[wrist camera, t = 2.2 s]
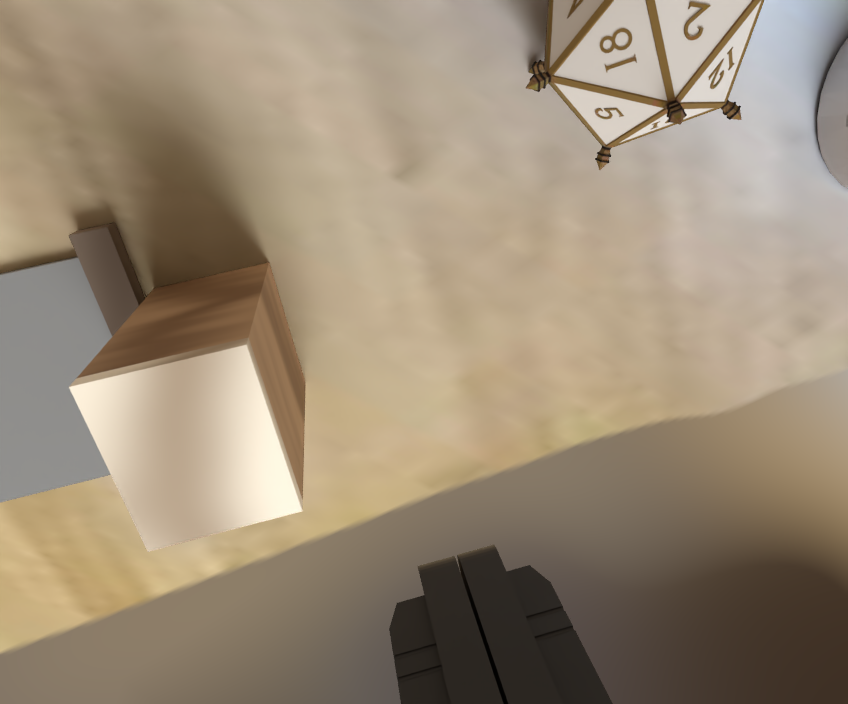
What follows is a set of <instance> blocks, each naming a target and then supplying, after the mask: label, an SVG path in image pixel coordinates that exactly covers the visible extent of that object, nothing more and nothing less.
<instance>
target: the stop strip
mask: <svg viewBox="0 0 848 704" xmlns="http://www.w3.org/2000/svg"><path fill="white" fill-rule="evenodd" d="M69 238H70V240H71V242H72V245H73V247H74V249H75V252H76V254H77V256H78V259H79V261H80V263H81V266H82V268H83V270H84V273H85V275H86V277H87V280H88V282H89V284H90V286H91V289H92V291H93V293H94V296H95V298H96V300H97V303H98V305H99V307H100V310H101V312H102V314H103V317H104V319H105V321H106V324H107V326H108V328H109V331H110V333H111V335H112V337H113V335H114V334H115V333H116V332H117V331H118V330H119V328H120V327H121V326H122V325H123V324H124V323H125V321H126V320H127V319H128V318H129V317H130V316H131V315H132V313H133V312H134V311H135V310H136V309H137V308H138V306H139V305H140V304H141V303H142V302H143V301H144V300H145V297H144V295H143V292H142V290H141V287H140V285H139V282H138V280H137V277H136V275H135V272H134V270H133V267H132V265H131V262H130V260H129V257H128V255H127V252H126V250H125V247H124V245H123V242H122V239H121V237H120V234H119V232H118V229H117V227H116V224H115V223H110V224H106V225H101V226H97V227H92V228H87V229H83V230H78V231H76V232H74V233H72V234H70V235H69Z"/></svg>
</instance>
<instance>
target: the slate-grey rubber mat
mask: <svg viewBox="0 0 848 704" xmlns="http://www.w3.org/2000/svg"><path fill="white" fill-rule="evenodd" d="M111 338H112V335H111V333H110V331H109V328H108V326H107V324H106V321H105V319H104V317H103V314H102V312H101V310H100V307H99V305H98V303H97V300H96V298H95V296H94V293H93V291H92V289H91V286H90V284H89V282H88V280H87V277H86V275H85V273H84V270H83V268H82V266H81V263H80V261H79V259H78V257H73V258H69V259H64V260H60V261H55V262H51V263H46V264H41V265H37V266H32V267H28V268H23V269H19V270H14V271H10V272H5V273H1V274H0V502H4V501H8V500H12V499H16V498H20V497H24V496H28V495H32V494H36V493H40V492H44V491H48V490H52V489H56V488H60V487H64V486H68V485H72V484H76V483H80V482H84V481H88V480H92V479H96V478H100V477H104V476H108V475H111V474H110V472H109V470H108V468H107V466H106V464H105V461H104V459H103V457H102V455H101V453H100V451H99V449H98V447H97V445H96V443H95V441H94V439H93V436H92V434H91V432H90V430H89V428H88V426H87V424H86V422H85V420H84V418H83V416H82V414H81V411H80V409H79V407H78V405H77V403H76V401H75V399H74V397H73V395H72V393H71V391H70V389H69V386H70V385H71V384H72V383H73V382H74V380H75V379H76V378H77V377H78V376H79V375H80V374H81V372H82V371H83V370H84V369H85V368H86V367H87V365H88V364H89V363H90V362H91V361H92V360H93V358H94V357H95V356H96V355H97V354H98V353H99V352H100V350H101V349H102V348H103V347H104V346H105V345H106V343H107V342H108V341H109V340H110V339H111Z"/></svg>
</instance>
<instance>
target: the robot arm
mask: <svg viewBox="0 0 848 704" xmlns="http://www.w3.org/2000/svg"><path fill="white" fill-rule="evenodd" d="M817 124H818V141H819V145H820V150H821V154H822V157H823V159H824V161H825V163H826V165H827V167H828V169H829V171H830V173H831V174H832V175H833V176H834V177H835V178H836V180H837V181H838V182H839V183H840V184H841V185H843V186H844V187H846V188H848V38H847V39H846V41H845V42H844V44H843V45H842V46H841V48H840V50H839V51H838V53H837V55H836V57H835V59H834V61H833V63H832V65H831V67H830V69H829V71H828V74H827V77H826V80H825V83H824V86H823V89H822V92H821V97H820V103H819V109H818V116H817ZM457 557H458V563H459V567H458V564H457V562H456V559H455V557H454V556H452V557H449V558H446V559H442V560H438V561H435V562H431V563H427V564H424V565H420V566H418V570H419V574H420V578H421V582H422V586H423V590H424V594H425V595H424V596H420V597H417V598H413V599H410V600H406V601H403V602H399V603H397V605H396V608H395V612H394V615H393V619H392V622H391V625H390V629H389V630H390V636H391V642H392V649H393V655H394V659H395V667H396V673H397V679H398V686H399V693H400V699H401V704H612V702H611V700H610V698H609V696H608V694H607V692H606V690H605V688H604V686H603V684H602V682H601V680H600V678H599V676H598V674H597V672H596V670H595V668H594V667H593V665H592V663H591V661H590V659H589V657H588V655H587V653H586V651H585V649H584V647H583V645H582V643H581V641H580V639H579V637H578V635H577V633H576V631H574V629H573V626H572V623H571V622H570V620H569V618H568V616H567V614H566V612H565V611H564V610H563V606H562V604H561V602H560V600H559V599H558V596H557V594H556V592H555V590H554V588H553V586H552V585H551V582H549V581H548V580H547V579H545V578H544V577H543V576H542V575H541V574H540V573H538V572H537V571H536V570H535V569H533V568H532V567H531V566H530V565H529V566H525V567H522V568H518V569H514V570H511V571H507V572H506V570H505V567H504V565H503V563H502V560H501V558H500V556H499V554H498V551H497V549H496V547H495V546H494V545H491V546H487V547H484V548H480V549H477V550H473V551H470V552H466V553H462V554H459V555H457ZM459 568H460V570H459Z"/></svg>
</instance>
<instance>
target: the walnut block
mask: <svg viewBox="0 0 848 704" xmlns="http://www.w3.org/2000/svg"><path fill="white" fill-rule="evenodd" d="M69 389H70V391H71V393H72V395H73V397H74V399H75V401H76V403H77V405H78V407H79V409H80V411H81V414H82V416H83V418H84V420H85V422H86V424H87V426H88V428H89V430H90V432H91V434H92V436H93V439H94V441H95V443H96V445H97V447H98V449H99V451H100V453H101V455H102V457H103V459H104V461H105V464H106V466H107V468H108V470H109V472H110V474H111V476H112V478H113V480H114V482H115V484H116V486H117V489H118V491H119V493H120V495H121V497H122V499H123V501H124V503H125V505H126V507H127V509H128V511H129V513H130V516H131V518H132V520H133V522H134V524H135V526H136V528H137V530H138V532H139V534H140V536H141V538H142V541H143V543H144V545H145V547H146V549H147V551H148V552H149V551H153V550H157V549H160V548H164V547H168V546H172V545H176V544H179V543H183V542H187V541H191V540H195V539H198V538H202V537H206V536H210V535H214V534H217V533H221V532H225V531H229V530H233V529H236V528H240V527H244V526H248V525H252V524H255V523H259V522H263V521H267V520H271V519H274V518H278V517H282V516H286V515H290V514H293V513H297V512H301V511H302V506H303V464H304V422H305V380H304V376H303V373H302V370H301V366H300V363H299V360H298V356H297V353H296V350H295V346H294V343H293V340H292V336H291V333H290V330H289V327H288V323H287V320H286V317H285V313H284V310H283V307H282V303H281V300H280V297H279V293H278V290H277V287H276V283H275V280H274V277H273V273H272V270H271V267H270V263H269V262H268V263H264V264H259V265H255V266H251V267H246V268H242V269H237V270H233V271H229V272H224V273H220V274H215V275H211V276H207V277H202V278H198V279H193V280H189V281H185V282H180V283H176V284H171V285H167V286H163V287H158V288H154V289H153V290H152V291H151V293H150V294H149V295H148V296H147V297H146V298H145V300H144V301H143V302H142V303H141V304H140V305H139V306H138V308H137V309H136V310H135V311H134V312H133V313H132V315H131V316H130V317H129V318H128V319H127V320H126V321H125V323H124V324H123V325H122V326H121V327H120V328H119V330H118V331H117V332H116V333H115V334H114V335H113V337H112V338H111V339H110V340H109V341H108V342H107V343H106V345H105V346H104V347H103V348H102V349H101V350H100V352H99V353H98V354H97V355H96V356H95V357H94V358H93V360H92V361H91V362H90V363H89V364H88V365H87V367H86V368H85V369H84V370H83V371H82V372H81V374H80V375H79V376H78V377H77V378H76V379H75V380H74V382H73V383H72V384H71V385H70V386H69Z"/></svg>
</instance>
